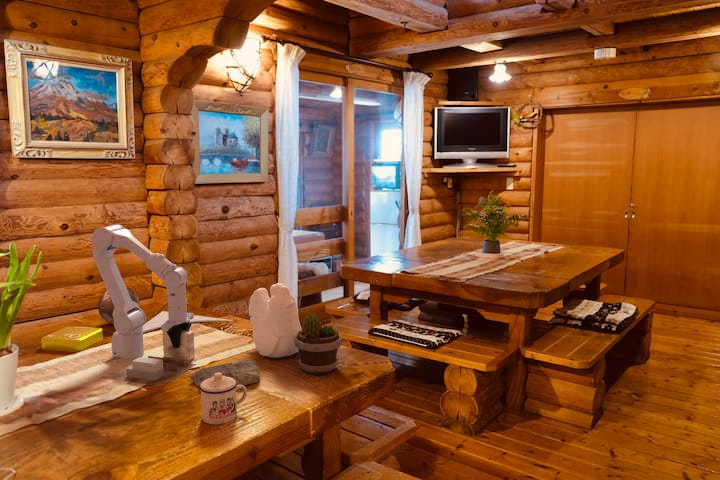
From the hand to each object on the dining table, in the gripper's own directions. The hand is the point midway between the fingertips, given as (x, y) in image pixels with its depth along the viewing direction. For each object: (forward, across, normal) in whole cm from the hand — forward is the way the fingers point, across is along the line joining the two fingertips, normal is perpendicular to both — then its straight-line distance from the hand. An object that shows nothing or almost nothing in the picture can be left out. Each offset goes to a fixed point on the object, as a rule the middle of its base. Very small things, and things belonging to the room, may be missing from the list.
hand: (179, 346), depth 184 cm
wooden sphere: (+5, +27, +46) cm, 54 cm away
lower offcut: (+4, -17, 0) cm, 17 cm away
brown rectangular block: (+4, 0, 0) cm, 4 cm away
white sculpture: (+5, +17, -26) cm, 31 cm away
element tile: (+5, +3, +46) cm, 46 cm away
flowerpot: (+5, +6, -46) cm, 47 cm away
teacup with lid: (+5, -31, -35) cm, 47 cm away
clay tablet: (+5, -11, -23) cm, 26 cm away
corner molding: (+5, +27, +19) cm, 34 cm away
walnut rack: (+5, -13, 0) cm, 14 cm away
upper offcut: (+1, -17, -1) cm, 17 cm away
